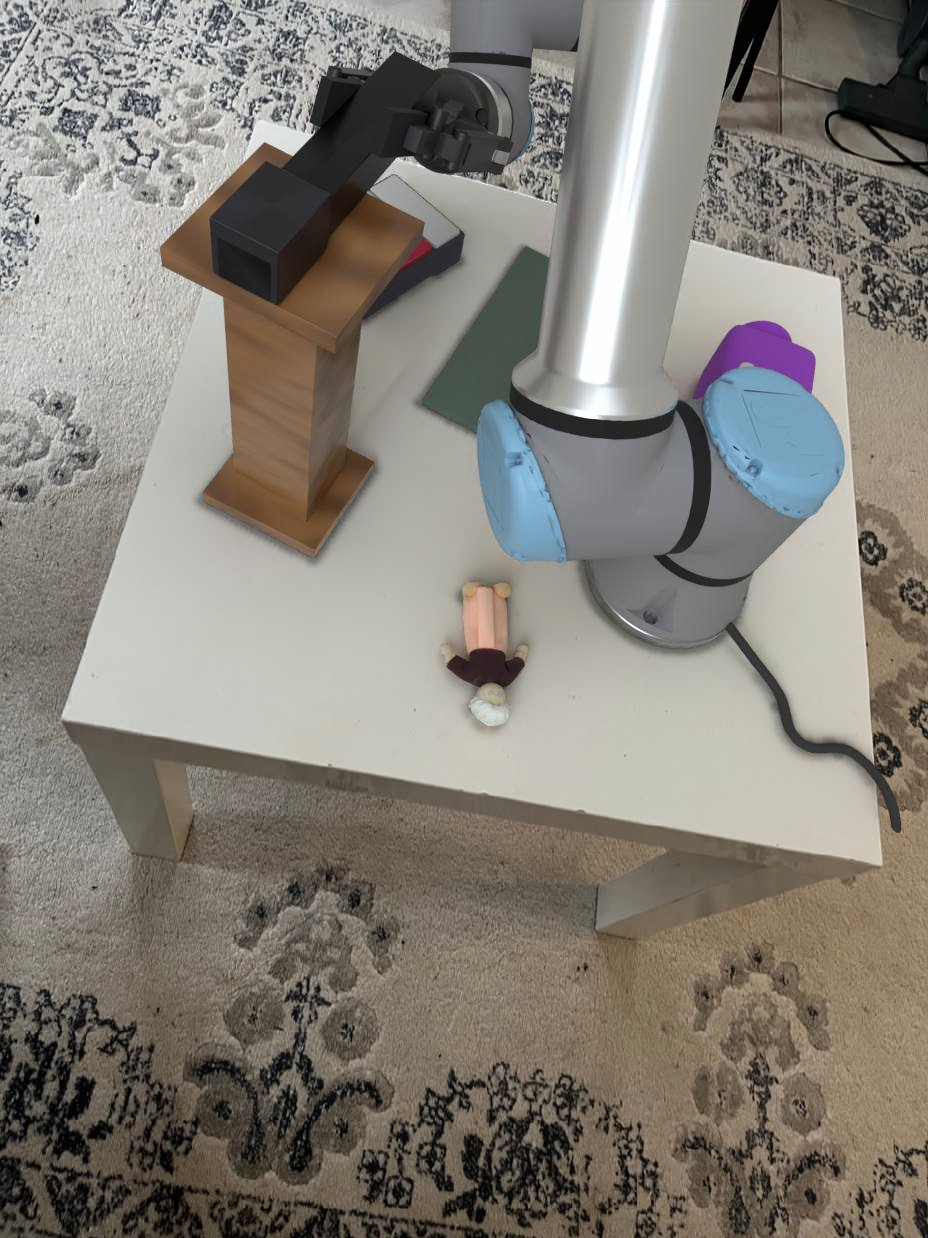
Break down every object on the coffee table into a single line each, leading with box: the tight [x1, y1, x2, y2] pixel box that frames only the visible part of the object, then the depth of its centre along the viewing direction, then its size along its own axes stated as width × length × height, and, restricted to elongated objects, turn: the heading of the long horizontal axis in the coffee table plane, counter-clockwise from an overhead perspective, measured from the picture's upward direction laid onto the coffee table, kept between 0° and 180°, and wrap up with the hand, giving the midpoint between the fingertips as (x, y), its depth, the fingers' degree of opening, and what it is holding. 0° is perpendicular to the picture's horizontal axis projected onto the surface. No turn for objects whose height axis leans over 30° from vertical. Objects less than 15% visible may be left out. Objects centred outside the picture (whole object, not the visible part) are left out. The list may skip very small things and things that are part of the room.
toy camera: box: [693, 320, 817, 399], centre depth 90 cm, size 11×14×10 cm
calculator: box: [362, 173, 466, 321], centre depth 93 cm, size 11×4×15 cm
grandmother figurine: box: [439, 581, 530, 727], centre depth 75 cm, size 8×4×13 cm
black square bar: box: [209, 50, 441, 305], centre depth 56 cm, size 22×4×4 cm, turn 155°
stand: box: [159, 141, 425, 560], centre depth 68 cm, size 12×12×28 cm
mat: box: [421, 245, 550, 434], centre depth 93 cm, size 26×11×1 cm, turn 155°
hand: (351, 116), depth 55 cm, fingers closed on black square bar, 4 cm apart
